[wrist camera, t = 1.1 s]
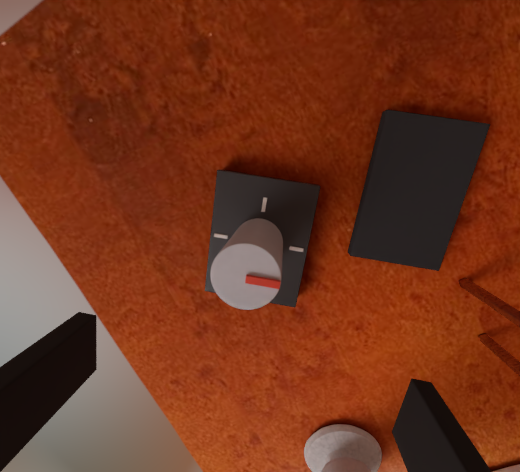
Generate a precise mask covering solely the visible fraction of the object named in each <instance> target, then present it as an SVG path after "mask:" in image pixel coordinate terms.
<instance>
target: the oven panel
mask: <svg viewBox="0 0 520 472" xmlns="http://www.w3.org/2000/svg"><path fill="white" fill-rule="evenodd" d="M319 191H320V186H319V185H316V184H310V183H303V182H297V181H291V180H284V179H278V178H272V177H266V176H259V175H253V174H247V173H240V172H234V171H228V170H217V180H216V189H215V199H214V208H213V218H212V227H211V237H210V246H209V256H208V265H207V275H206V285H205V291H209V292H214V293H216V292H215V290H214V288H213V286H212V282H211V276H210V273H211V266H212V263H213V261H214V259H215V257H216V256H217V255H218V253H219V252H220V251H221V250H222V248H223V247H224V246H225V244H226V243H227V242H228V241H229V239H230V238H231V237H232V236H233V234H234V233H235V232H236V230H237V229H238V228H239V227H240V226H241V225H242V224H243V223H244V222H246V221H248V220H251V219H256V218H259V219H265V220H268V221H270V222H272V223H273V224H274V225H275V226H276V227H277V228H278V229H279V231H280V232H281V235H282V238H283V255H282V278H281V285H280V289H279V291H278V293H277V295H276V296H275V297H274V299H273V300H271V301H270V302H269V303H274V304H280V305H285V306H291V307H296V302H297V297H298V292H299V287H300V283H301V278H302V273H303V268H304V263H305V258H306V253H307V249H308V244H309V239H310V234H311V229H312V224H313V220H314V215H315V210H316V205H317V200H318V195H319Z"/></svg>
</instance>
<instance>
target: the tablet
mask: <svg viewBox="0 0 520 472" xmlns="http://www.w3.org/2000/svg"><path fill="white" fill-rule="evenodd" d="M491 472H520V464H518V465H514V466H510V467H506V468H502V469H499V470H495V471H491Z"/></svg>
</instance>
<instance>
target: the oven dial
mask: <svg viewBox="0 0 520 472" xmlns="http://www.w3.org/2000/svg"><path fill="white" fill-rule="evenodd" d="M282 255H283V238H282V235H281V232H280V231H279V229H278V228H277V227H276V226H275V225H274V224H273V223H272V222H270V221H268V220H265V219H259V218H256V219H251V220H248V221H246V222H244V223H243V224H242V225H241V226H240V227H239V228H238V229H237V230H236V232H235V233H234V234H233V236H232V237H231V238H230V239H229V241H228V242H227V243H226V244H225V246H224V247H223V248H222V250H221V251H220V252H219V253H218V255H217V256H216V257H215V259H214V261H213V263H212V266H211V273H210V276H211V282H212V286H213V288H214V290H215V292H216V293H217V295H218V296H219V297H220V298H221V299H222V300H223V301H224V302H226V303H227V304H229V305H231V306H233V307H235V308H239V309H245V310H250V309H256V308H260V307H262V306H264V305H266V304H268V303H269V302H270V301H271V300H273V299H274V297H275V296H276V295H277V293H278V291H279V289H280V285H281V278H282Z"/></svg>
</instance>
